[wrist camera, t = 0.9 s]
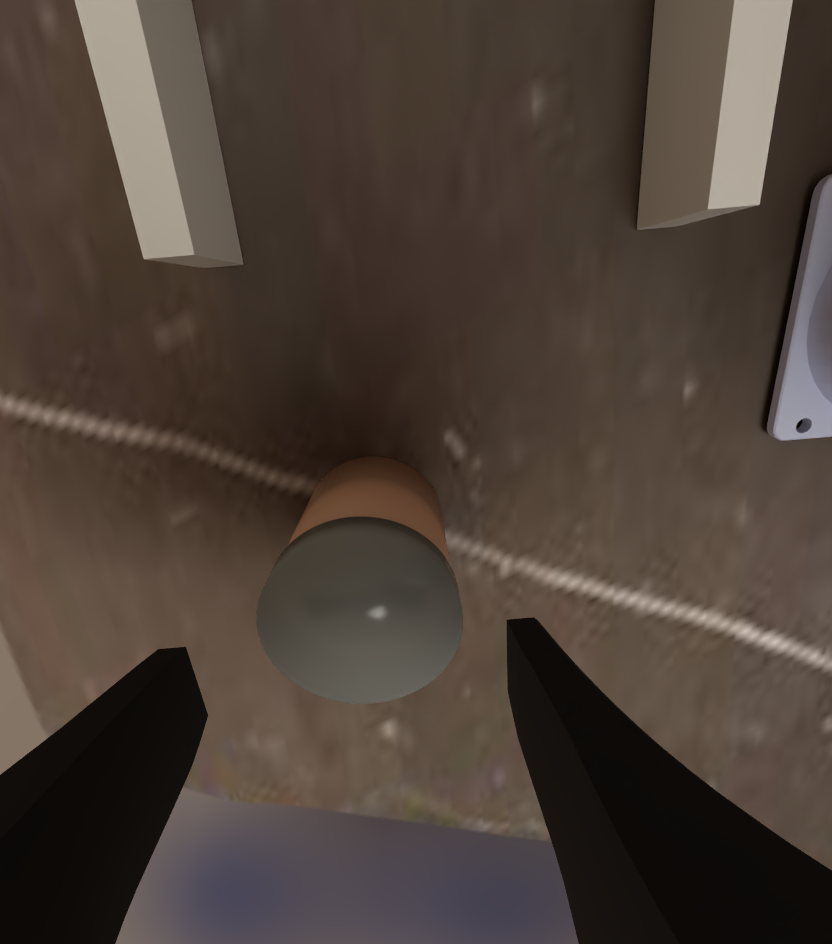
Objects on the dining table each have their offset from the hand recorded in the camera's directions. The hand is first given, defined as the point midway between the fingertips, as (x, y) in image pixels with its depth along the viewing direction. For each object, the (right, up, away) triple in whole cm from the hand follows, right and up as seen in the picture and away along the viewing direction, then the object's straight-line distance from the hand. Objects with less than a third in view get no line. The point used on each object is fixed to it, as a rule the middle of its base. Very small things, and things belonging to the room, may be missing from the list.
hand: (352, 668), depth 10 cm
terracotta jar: (0, +3, +7) cm, 7 cm away
